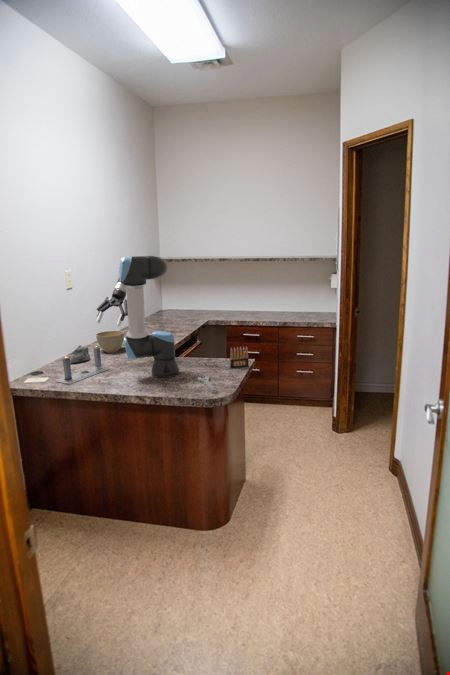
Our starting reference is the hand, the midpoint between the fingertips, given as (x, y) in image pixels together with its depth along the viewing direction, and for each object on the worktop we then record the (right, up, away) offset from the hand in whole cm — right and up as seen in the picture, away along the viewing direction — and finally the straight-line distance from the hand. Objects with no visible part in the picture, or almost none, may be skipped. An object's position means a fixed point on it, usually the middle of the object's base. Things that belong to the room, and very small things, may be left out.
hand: (107, 323), depth 258 cm
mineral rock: (-22, -23, +18) cm, 36 cm away
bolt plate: (-10, -29, -10) cm, 32 cm away
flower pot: (-8, -17, +40) cm, 44 cm away
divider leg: (-5, -25, -1) cm, 25 cm away
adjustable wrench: (+58, -32, -33) cm, 74 cm away
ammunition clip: (+76, -25, -4) cm, 80 cm away
